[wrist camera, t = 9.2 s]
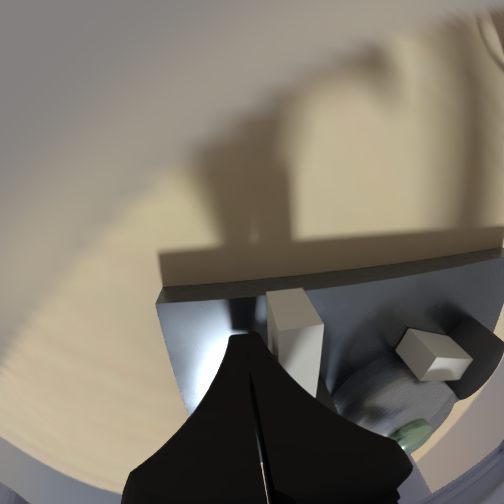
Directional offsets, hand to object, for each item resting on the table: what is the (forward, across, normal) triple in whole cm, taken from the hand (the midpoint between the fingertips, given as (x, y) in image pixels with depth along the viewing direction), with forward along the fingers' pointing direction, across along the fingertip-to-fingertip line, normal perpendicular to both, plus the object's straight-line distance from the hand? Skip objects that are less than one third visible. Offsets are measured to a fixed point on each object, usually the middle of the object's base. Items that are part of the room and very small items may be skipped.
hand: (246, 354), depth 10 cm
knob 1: (+1, -2, +2) cm, 3 cm away
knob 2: (+1, -12, +3) cm, 12 cm away
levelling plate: (+3, -8, +5) cm, 10 cm away
